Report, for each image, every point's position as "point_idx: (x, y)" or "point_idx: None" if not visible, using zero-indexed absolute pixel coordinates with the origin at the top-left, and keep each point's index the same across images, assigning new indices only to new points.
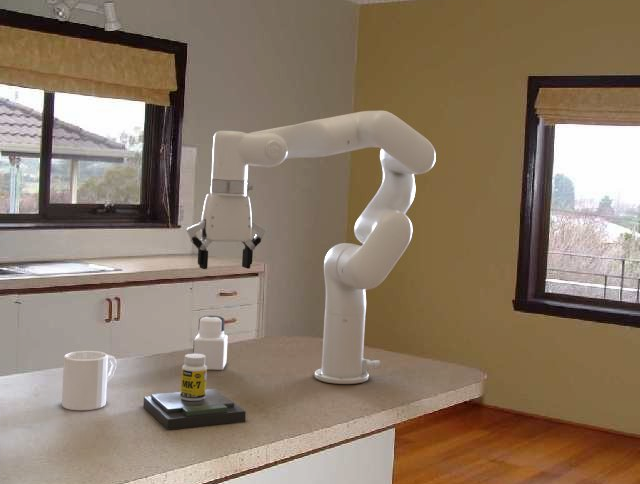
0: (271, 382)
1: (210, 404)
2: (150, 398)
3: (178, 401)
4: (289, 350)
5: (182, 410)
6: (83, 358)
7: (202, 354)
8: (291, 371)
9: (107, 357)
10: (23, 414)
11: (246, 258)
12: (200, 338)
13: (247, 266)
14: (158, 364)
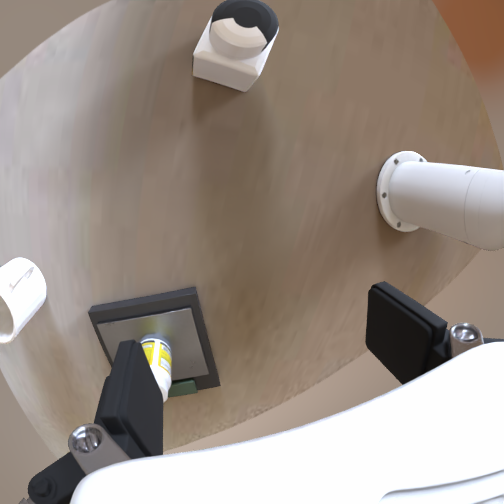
0: (308, 192)
1: (177, 378)
2: (97, 322)
3: None
4: (379, 13)
5: None
6: None
7: (162, 387)
8: (357, 129)
9: (17, 322)
10: None
11: (391, 359)
12: (208, 54)
13: (370, 348)
14: (140, 38)
